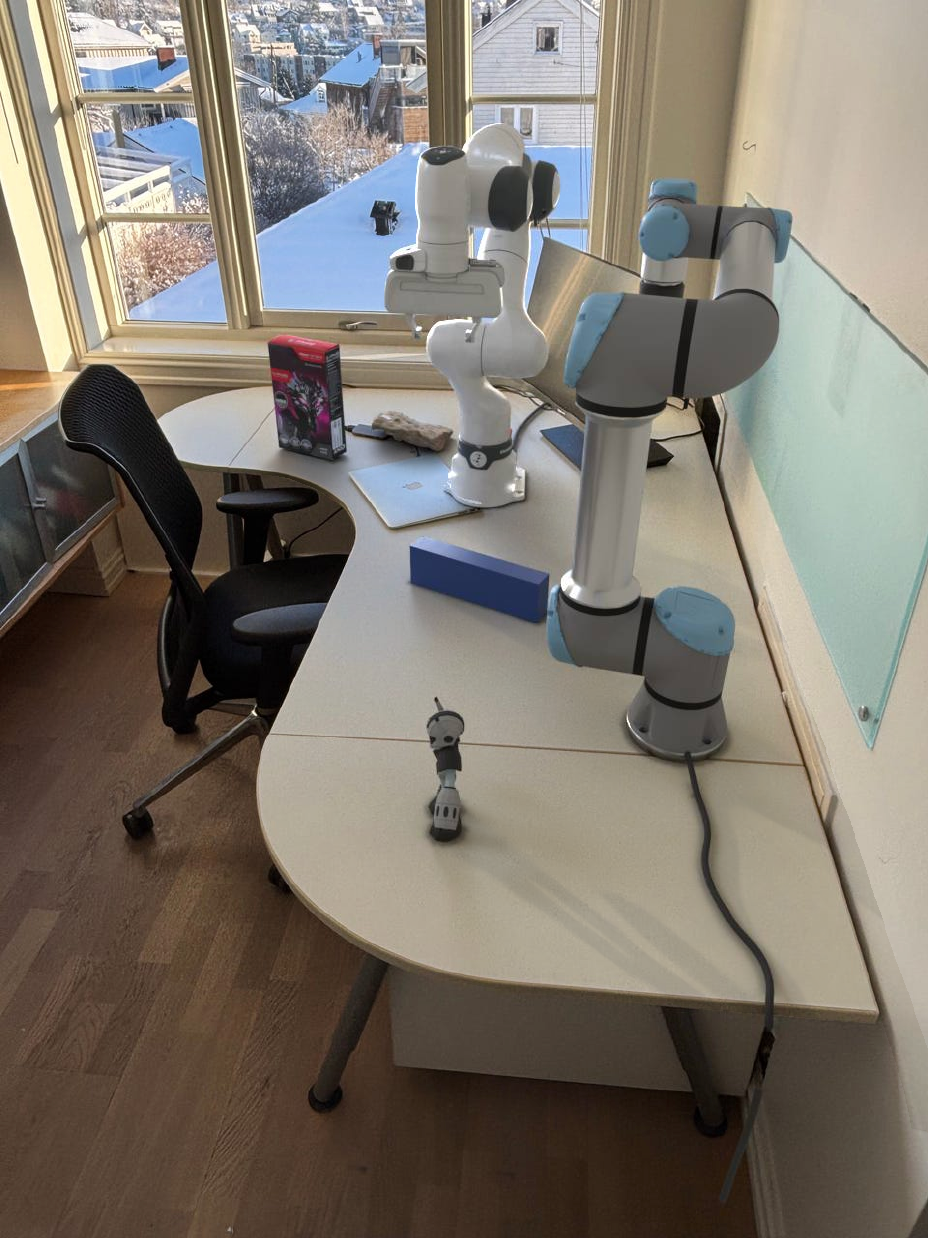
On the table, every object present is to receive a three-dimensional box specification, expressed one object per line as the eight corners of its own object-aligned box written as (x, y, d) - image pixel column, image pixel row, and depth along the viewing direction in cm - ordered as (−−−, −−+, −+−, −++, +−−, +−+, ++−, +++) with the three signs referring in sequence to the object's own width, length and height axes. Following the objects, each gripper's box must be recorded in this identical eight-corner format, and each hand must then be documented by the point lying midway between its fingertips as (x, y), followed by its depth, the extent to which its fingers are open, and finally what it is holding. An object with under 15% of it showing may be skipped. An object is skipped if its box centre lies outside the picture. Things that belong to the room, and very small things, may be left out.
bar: (547, 611, 171) (549, 573, 166) (536, 623, 168) (538, 584, 163) (422, 572, 182) (422, 535, 177) (410, 582, 179) (409, 545, 174)
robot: (467, 874, 119) (468, 759, 108) (429, 876, 119) (427, 760, 108) (460, 769, 135) (460, 659, 124) (426, 770, 135) (424, 660, 124)
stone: (355, 434, 231) (360, 411, 228) (377, 426, 244) (381, 404, 242) (433, 459, 227) (439, 435, 225) (451, 449, 241) (456, 426, 238)
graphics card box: (276, 448, 231) (264, 340, 216) (293, 439, 236) (282, 332, 221) (333, 462, 225) (324, 351, 209) (349, 452, 230) (341, 343, 214)
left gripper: (507, 255, 155) (504, 338, 162) (388, 250, 157) (391, 331, 165) (502, 264, 149) (500, 349, 157) (379, 258, 152) (383, 342, 160)
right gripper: (739, 280, 155) (718, 402, 167) (592, 270, 160) (582, 388, 172) (738, 291, 149) (717, 417, 161) (585, 279, 154) (575, 402, 166)
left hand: (443, 340), depth 161 cm, fingers open, 8 cm apart
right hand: (647, 402), depth 166 cm, fingers open, 13 cm apart
